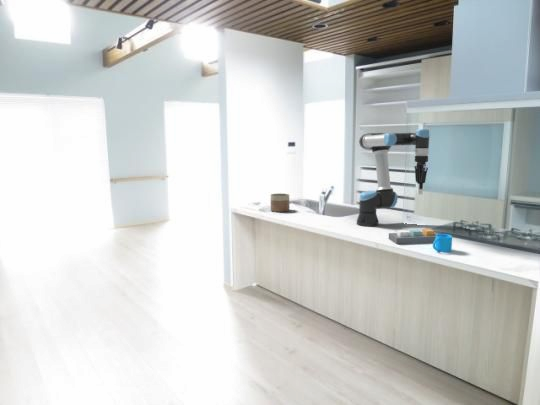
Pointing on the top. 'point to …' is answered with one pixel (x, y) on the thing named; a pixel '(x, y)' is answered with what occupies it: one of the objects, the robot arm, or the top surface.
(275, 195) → the planter
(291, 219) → the top surface
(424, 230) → the button orange
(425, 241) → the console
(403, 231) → the button white
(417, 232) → the button teal
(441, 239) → the mug
